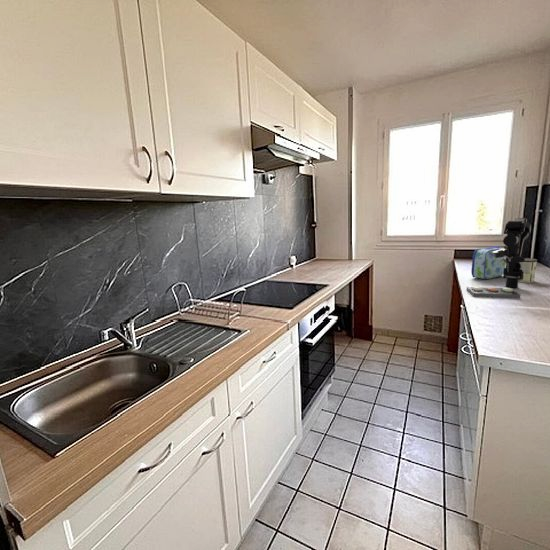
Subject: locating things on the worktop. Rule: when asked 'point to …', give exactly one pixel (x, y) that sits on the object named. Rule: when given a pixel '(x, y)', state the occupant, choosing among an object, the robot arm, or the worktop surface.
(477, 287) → the button ivory
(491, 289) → the button terracotta
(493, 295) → the console
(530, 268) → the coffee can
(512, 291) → the button sage
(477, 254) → the lunch box
